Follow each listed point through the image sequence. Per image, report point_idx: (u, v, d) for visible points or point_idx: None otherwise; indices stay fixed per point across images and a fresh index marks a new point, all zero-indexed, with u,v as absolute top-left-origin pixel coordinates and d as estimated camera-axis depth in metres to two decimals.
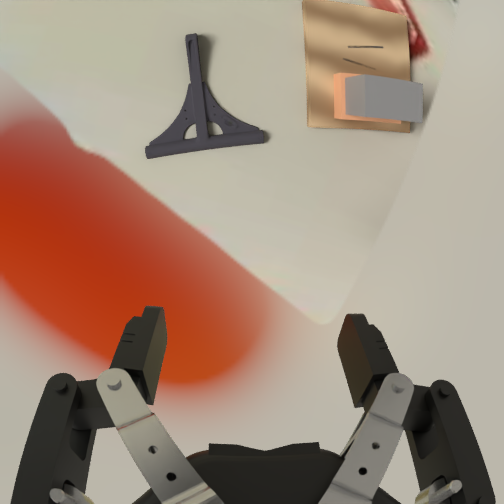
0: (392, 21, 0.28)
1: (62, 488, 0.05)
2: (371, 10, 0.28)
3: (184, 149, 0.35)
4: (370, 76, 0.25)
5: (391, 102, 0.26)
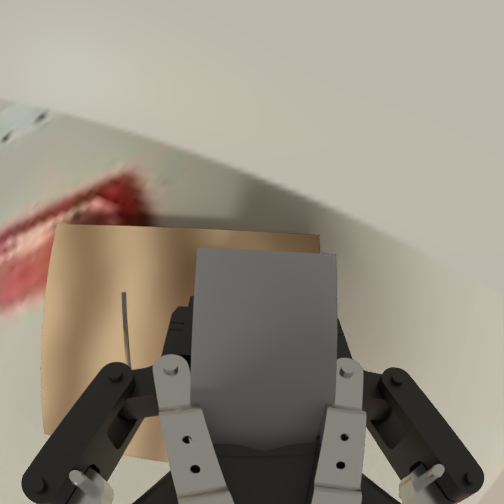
0: (68, 257, 0.17)
1: (85, 471, 0.06)
2: (49, 304, 0.16)
3: None
4: None
5: (277, 380, 0.09)
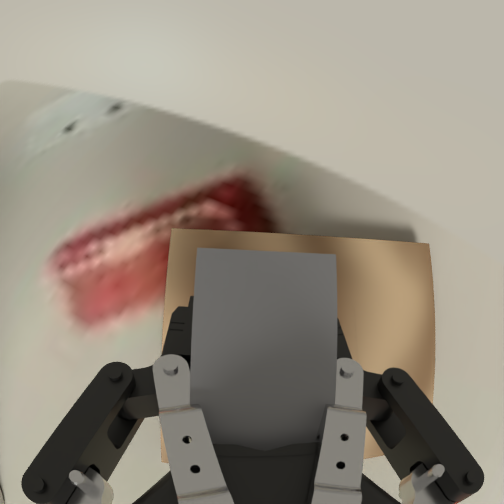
0: (192, 266, 0.18)
1: (85, 471, 0.06)
2: None
3: None
4: None
5: (277, 381, 0.09)
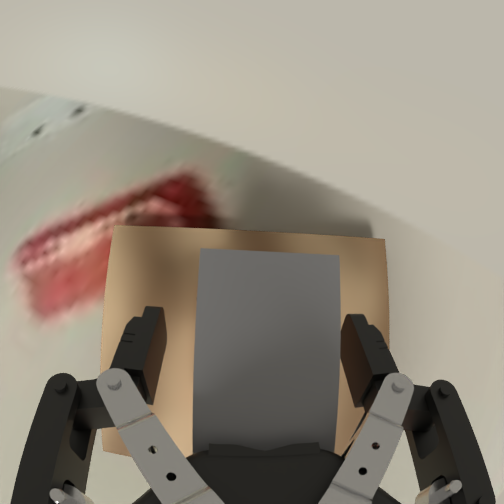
0: (130, 261, 0.17)
1: (62, 488, 0.05)
2: (109, 312, 0.16)
3: None
4: None
5: (280, 382, 0.09)
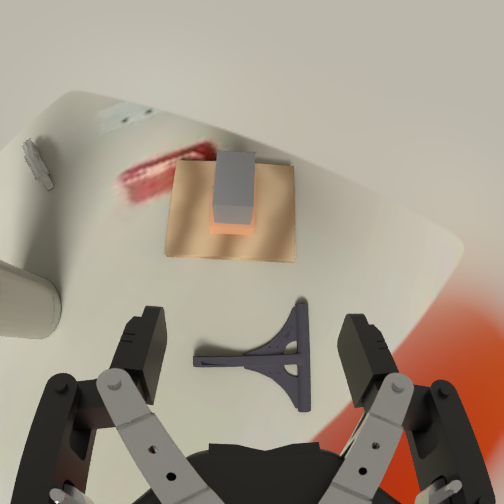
0: (184, 173, 0.43)
1: (62, 488, 0.05)
2: (175, 192, 0.42)
3: (307, 376, 0.37)
4: (214, 199, 0.33)
5: (237, 181, 0.34)
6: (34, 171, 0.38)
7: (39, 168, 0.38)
